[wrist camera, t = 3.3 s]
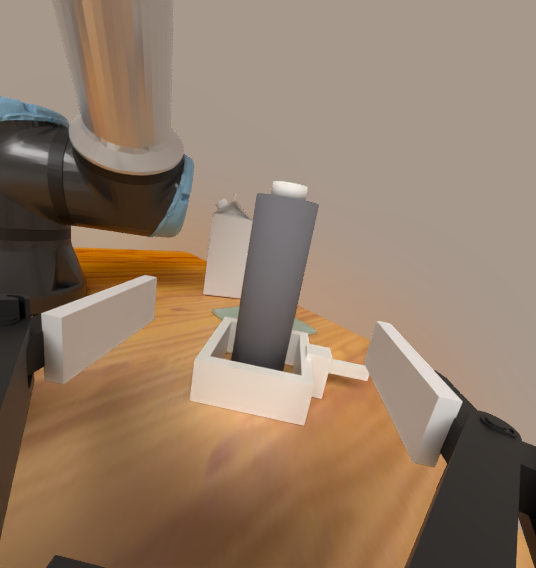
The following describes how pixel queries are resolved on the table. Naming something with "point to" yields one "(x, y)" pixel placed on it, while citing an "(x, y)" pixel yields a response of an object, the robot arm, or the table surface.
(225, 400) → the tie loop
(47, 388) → the table surface
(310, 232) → the grey thermos flask
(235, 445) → the table surface
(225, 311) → the felt mat
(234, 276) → the milk carton
